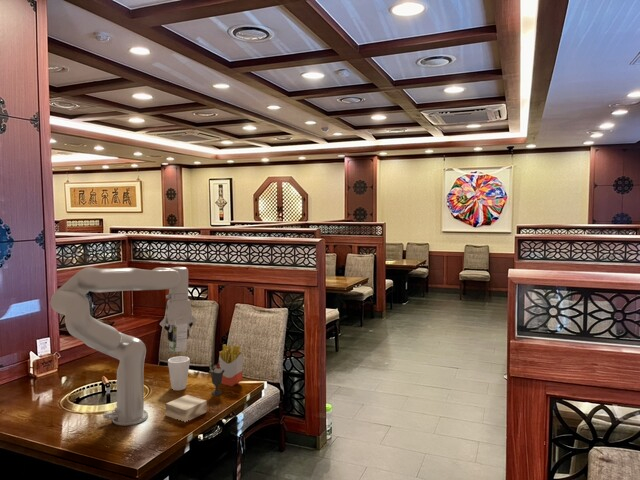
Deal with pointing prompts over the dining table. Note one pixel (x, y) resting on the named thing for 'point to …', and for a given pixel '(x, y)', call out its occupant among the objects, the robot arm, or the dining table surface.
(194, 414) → the riser block
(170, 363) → the foam cup
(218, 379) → the sundae
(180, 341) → the syrup box
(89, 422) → the dining table surface
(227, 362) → the french fries container
